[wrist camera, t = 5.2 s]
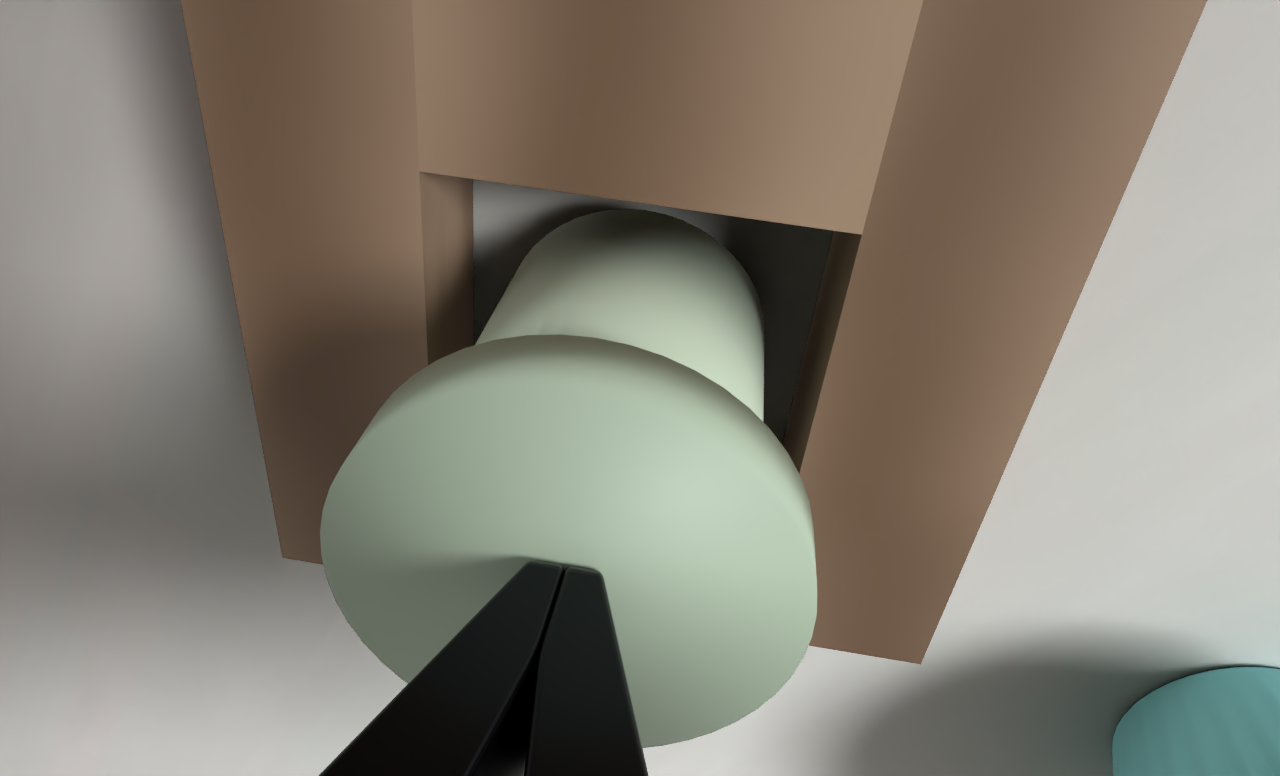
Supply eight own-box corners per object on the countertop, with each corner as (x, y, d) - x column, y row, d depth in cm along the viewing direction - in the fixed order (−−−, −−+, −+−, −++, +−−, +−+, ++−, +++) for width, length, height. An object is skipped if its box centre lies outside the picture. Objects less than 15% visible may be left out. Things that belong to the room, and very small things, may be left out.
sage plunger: (835, 199, 13) (875, 436, 8) (767, 484, 16) (766, 781, 11) (470, 148, 13) (290, 346, 8) (473, 437, 16) (343, 707, 11)
